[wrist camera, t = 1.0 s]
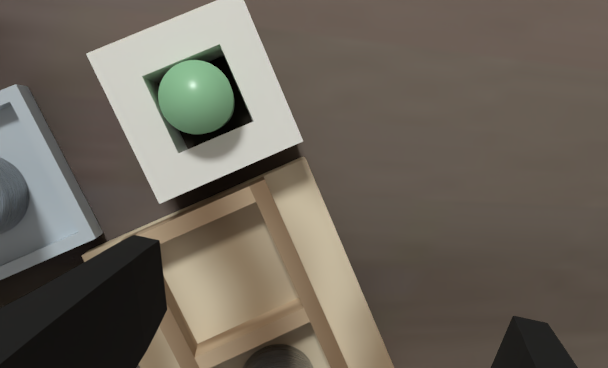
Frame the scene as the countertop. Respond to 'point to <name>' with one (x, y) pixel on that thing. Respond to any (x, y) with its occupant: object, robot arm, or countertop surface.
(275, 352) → the seated billet
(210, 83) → the button
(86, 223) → the tray
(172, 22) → the button housing
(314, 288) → the board
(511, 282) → the countertop surface
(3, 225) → the cylinder
